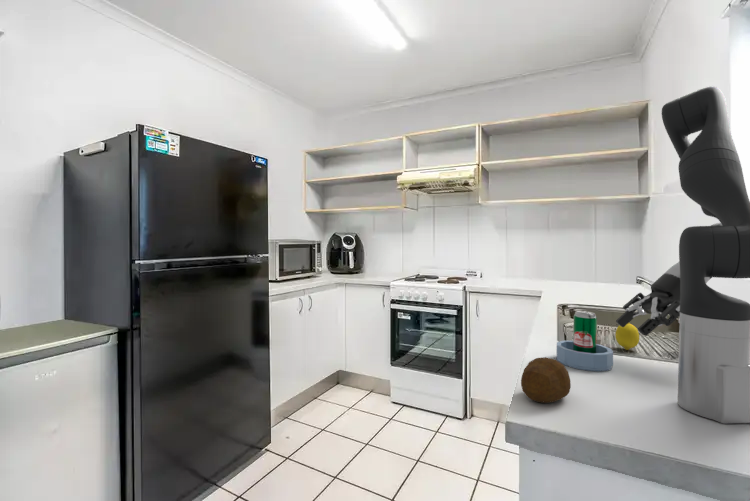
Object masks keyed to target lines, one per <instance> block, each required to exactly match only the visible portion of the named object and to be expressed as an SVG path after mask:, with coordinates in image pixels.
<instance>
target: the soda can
mask: <svg viewBox="0 0 750 501" xmlns="http://www.w3.org/2000/svg"><path fill="white" fill-rule="evenodd" d="M572 325H573V326H572V327H573V333H572V335H573V337H572V338H573V339H572V341H573V350H574V351H578V352H586V353H596V344H598V343H597V339H598V337H597V335H598V334H597V333H598V318H597V315H596V313H595V312H592V311H588V310H587V311H586V310H576V311H575V312H574V315H573V324H572Z"/></svg>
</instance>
